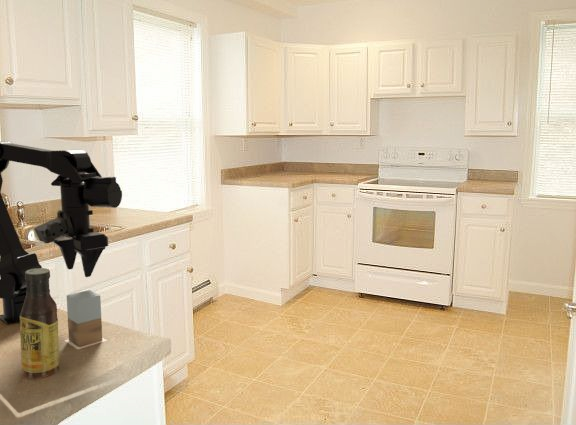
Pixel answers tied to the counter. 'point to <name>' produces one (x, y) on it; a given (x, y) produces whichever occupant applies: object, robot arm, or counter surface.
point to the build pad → (83, 346)
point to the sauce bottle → (39, 327)
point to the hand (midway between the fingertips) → (78, 272)
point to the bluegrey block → (83, 306)
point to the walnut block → (85, 332)
